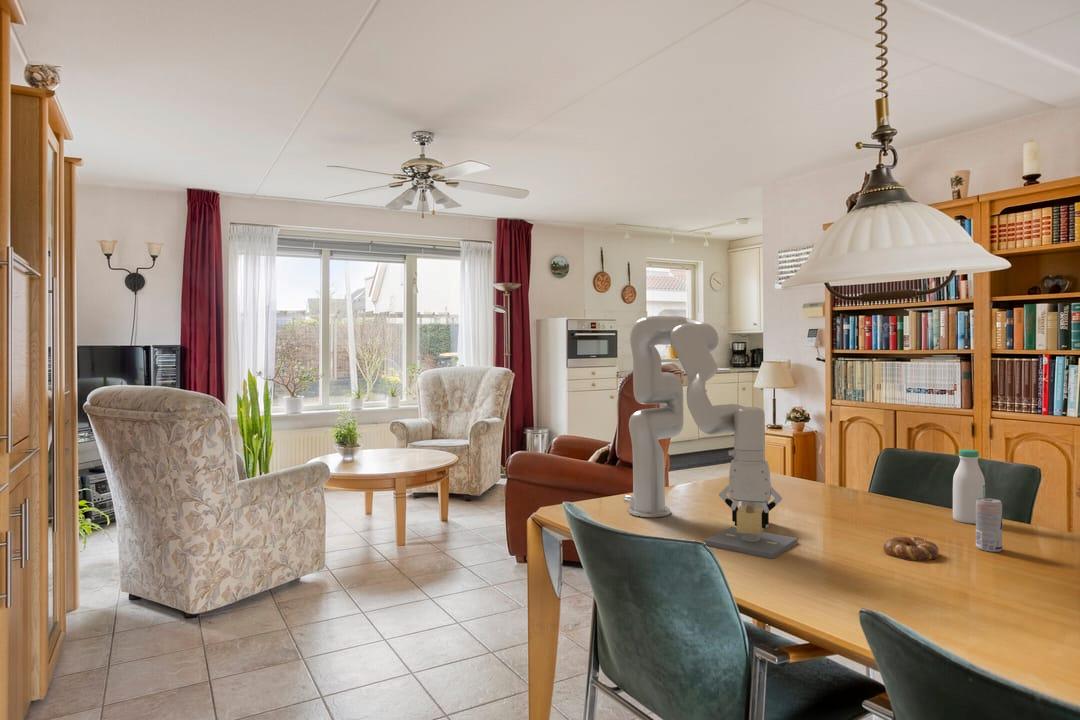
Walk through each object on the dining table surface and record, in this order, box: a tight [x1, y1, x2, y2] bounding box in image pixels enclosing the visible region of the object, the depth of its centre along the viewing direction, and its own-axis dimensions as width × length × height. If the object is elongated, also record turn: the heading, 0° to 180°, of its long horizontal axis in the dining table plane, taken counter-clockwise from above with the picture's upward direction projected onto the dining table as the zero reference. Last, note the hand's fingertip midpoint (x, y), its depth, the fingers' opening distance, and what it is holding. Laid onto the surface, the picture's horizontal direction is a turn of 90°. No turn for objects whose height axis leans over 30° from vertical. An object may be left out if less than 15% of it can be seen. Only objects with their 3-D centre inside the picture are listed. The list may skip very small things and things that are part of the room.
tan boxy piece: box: [736, 502, 764, 535], centre depth 170 cm, size 7×6×6 cm
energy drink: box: [975, 497, 1003, 553], centre depth 163 cm, size 5×5×12 cm
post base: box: [703, 525, 799, 560], centre depth 170 cm, size 18×16×5 cm
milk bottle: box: [952, 448, 986, 525], centre depth 187 cm, size 8×8×20 cm
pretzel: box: [882, 536, 939, 562], centre depth 160 cm, size 12×11×4 cm
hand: (750, 525), depth 170 cm, fingers closed on tan boxy piece, 6 cm apart
